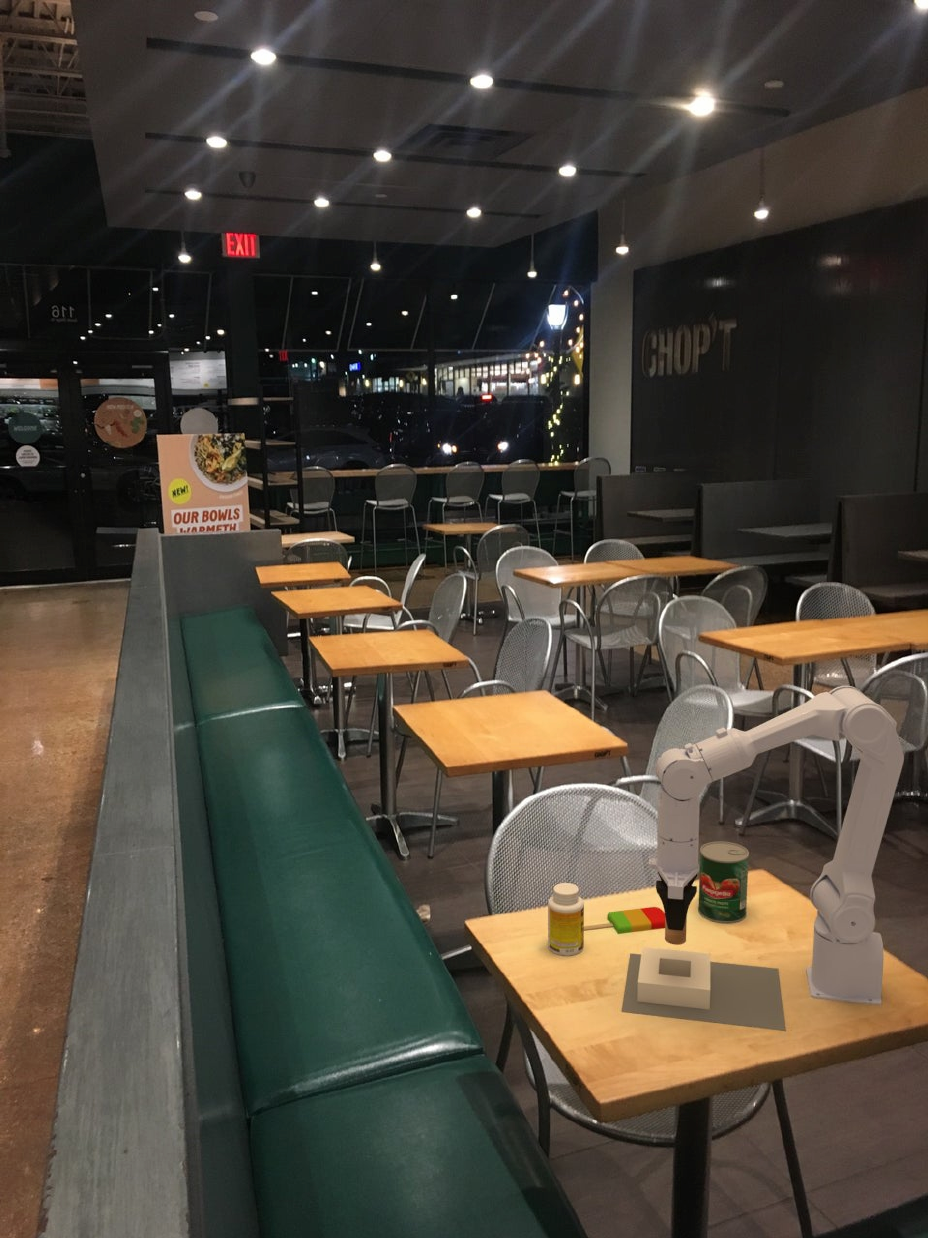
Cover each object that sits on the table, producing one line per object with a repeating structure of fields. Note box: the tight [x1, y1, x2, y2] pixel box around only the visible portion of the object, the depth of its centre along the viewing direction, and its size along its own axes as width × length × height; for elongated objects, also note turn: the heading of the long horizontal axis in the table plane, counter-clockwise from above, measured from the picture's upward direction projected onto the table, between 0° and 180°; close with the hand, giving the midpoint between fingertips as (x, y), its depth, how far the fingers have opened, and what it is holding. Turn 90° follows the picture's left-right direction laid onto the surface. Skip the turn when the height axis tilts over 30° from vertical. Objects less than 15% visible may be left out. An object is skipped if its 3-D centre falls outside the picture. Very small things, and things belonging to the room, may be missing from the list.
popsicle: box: [584, 906, 665, 935], centre depth 166 cm, size 6×15×2 cm, turn 102°
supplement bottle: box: [547, 882, 585, 957], centre depth 158 cm, size 6×6×10 cm
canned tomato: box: [697, 841, 750, 924], centre depth 168 cm, size 8×8×11 cm
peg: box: [664, 883, 688, 946], centre depth 145 cm, size 3×3×9 cm
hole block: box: [637, 946, 711, 1010], centre depth 147 cm, size 10×10×3 cm
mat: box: [621, 953, 787, 1032], centre depth 146 cm, size 22×16×1 cm
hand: (675, 923), depth 145 cm, fingers closed on peg, 3 cm apart
